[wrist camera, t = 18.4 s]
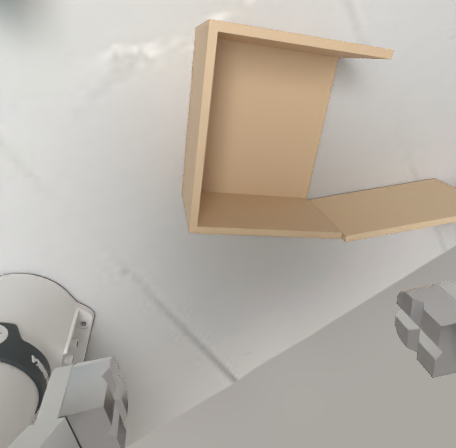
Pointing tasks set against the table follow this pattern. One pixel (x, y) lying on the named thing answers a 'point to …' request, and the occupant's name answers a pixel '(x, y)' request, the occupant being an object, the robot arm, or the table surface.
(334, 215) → the light wood flat panel
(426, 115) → the table surface
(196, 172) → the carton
